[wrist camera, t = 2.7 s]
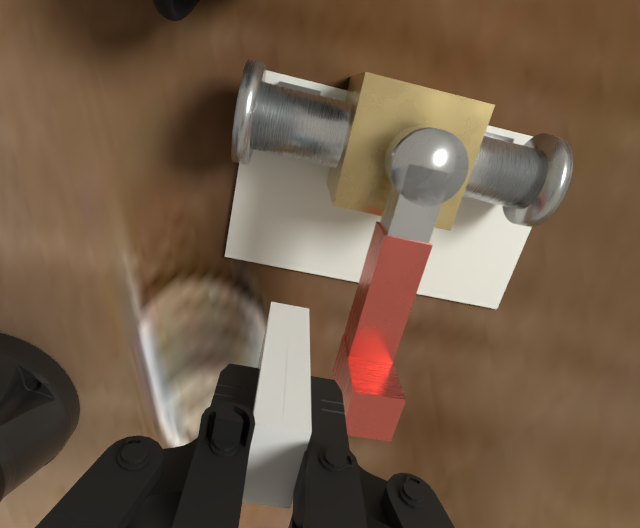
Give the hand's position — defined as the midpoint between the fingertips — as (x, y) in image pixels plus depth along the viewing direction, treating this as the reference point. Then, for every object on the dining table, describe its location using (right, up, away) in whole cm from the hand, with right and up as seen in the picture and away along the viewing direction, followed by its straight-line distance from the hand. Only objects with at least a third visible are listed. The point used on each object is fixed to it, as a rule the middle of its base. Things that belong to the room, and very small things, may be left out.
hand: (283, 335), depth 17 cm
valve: (+7, +12, +17) cm, 22 cm away
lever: (+6, +3, +10) cm, 12 cm away
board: (+7, +8, +19) cm, 22 cm away
